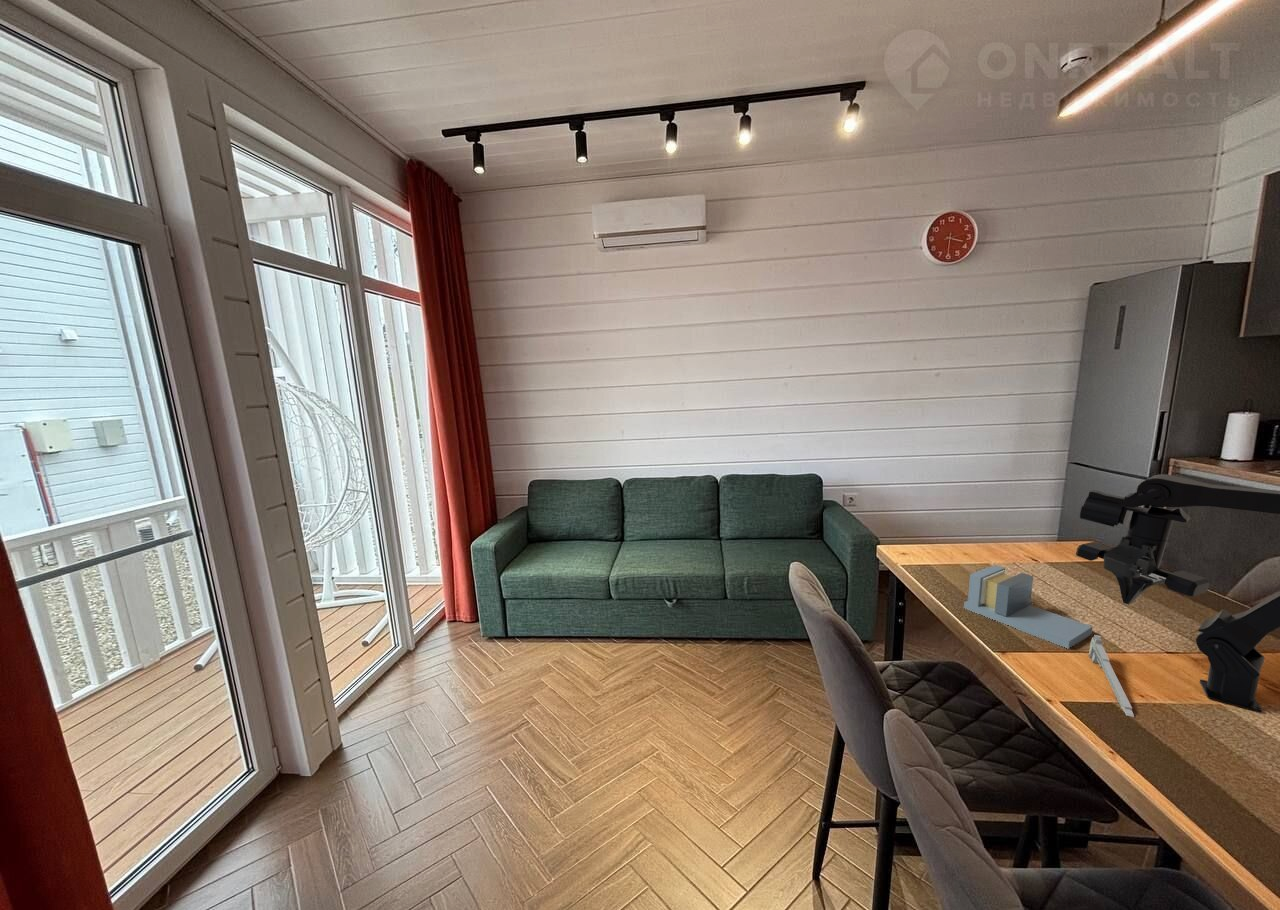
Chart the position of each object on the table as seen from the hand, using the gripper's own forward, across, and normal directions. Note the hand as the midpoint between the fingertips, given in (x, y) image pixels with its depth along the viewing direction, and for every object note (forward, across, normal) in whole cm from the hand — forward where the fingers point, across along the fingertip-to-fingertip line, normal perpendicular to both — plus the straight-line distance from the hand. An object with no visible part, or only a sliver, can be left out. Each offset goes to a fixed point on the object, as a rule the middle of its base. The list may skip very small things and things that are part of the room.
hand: (1126, 603), depth 100 cm
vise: (+14, -17, -1) cm, 22 cm away
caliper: (+13, +5, -12) cm, 19 cm away
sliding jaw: (+13, -20, -1) cm, 24 cm away
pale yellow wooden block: (+13, -23, -2) cm, 26 cm away
